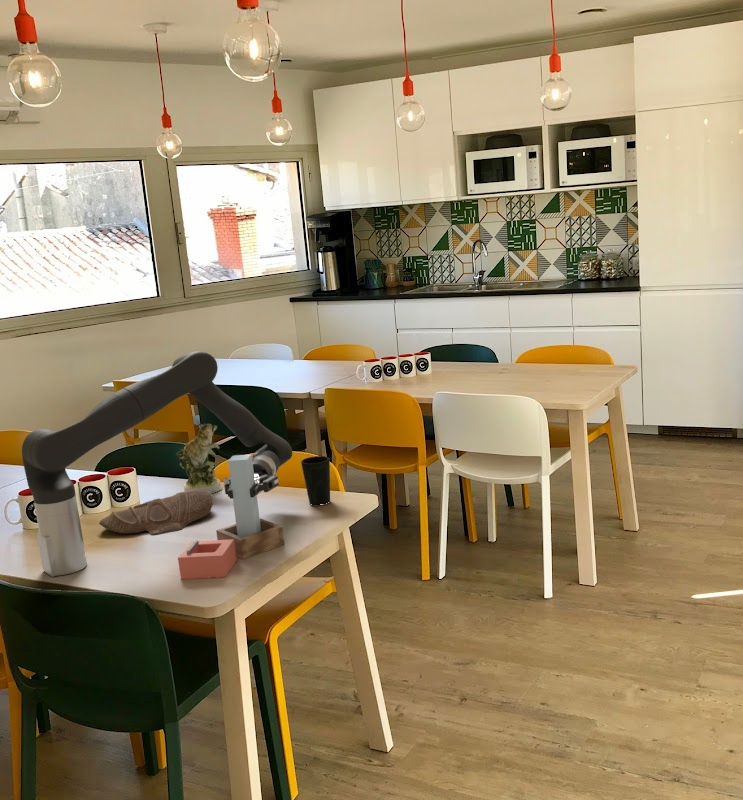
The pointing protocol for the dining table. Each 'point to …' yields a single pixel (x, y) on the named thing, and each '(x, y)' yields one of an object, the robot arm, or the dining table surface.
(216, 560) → the pink square holder
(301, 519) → the dining table surface
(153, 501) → the decorative mask
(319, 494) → the cup
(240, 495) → the pale blue tall pillar
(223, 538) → the tray
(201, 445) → the figurine
